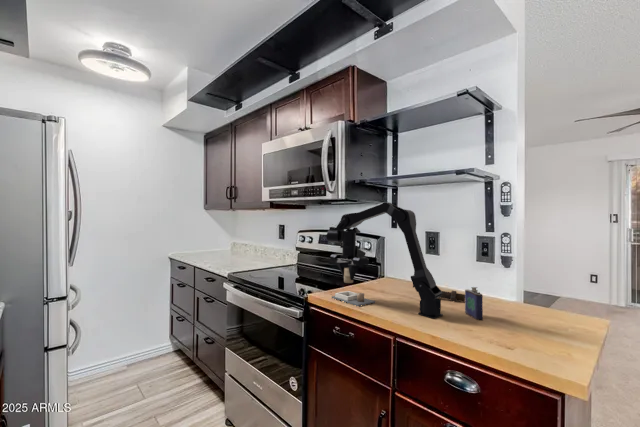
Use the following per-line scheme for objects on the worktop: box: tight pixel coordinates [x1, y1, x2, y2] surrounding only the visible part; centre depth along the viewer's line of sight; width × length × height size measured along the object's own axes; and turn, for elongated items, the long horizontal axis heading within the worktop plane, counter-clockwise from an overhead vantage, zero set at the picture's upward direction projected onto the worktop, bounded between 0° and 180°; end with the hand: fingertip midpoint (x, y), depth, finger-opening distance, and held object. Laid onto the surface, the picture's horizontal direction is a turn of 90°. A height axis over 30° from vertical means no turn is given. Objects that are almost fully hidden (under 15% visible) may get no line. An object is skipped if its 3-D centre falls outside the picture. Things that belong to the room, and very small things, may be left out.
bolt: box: [439, 290, 465, 303], centre depth 137 cm, size 6×5×15 cm
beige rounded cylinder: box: [343, 267, 354, 284], centre depth 134 cm, size 4×4×6 cm
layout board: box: [331, 290, 376, 307], centre depth 132 cm, size 16×10×4 cm, turn 38°
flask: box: [464, 286, 484, 322], centre depth 112 cm, size 9×3×11 cm, turn 4°
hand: (348, 279), depth 134 cm, fingers closed on beige rounded cylinder, 4 cm apart
